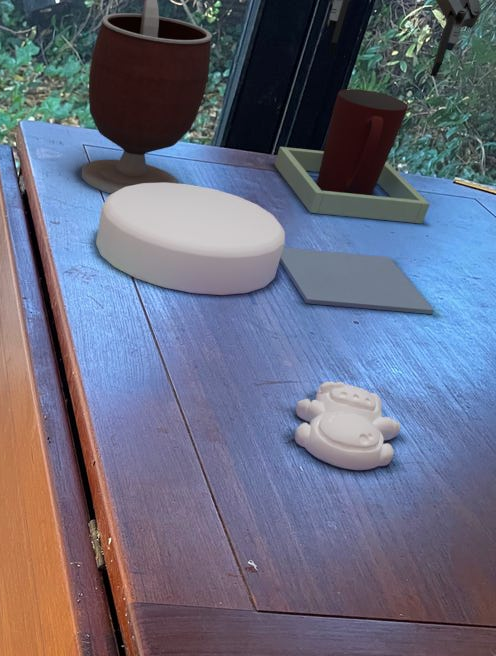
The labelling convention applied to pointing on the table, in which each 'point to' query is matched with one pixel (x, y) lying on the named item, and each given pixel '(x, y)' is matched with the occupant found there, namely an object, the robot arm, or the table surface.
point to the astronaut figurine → (346, 427)
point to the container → (190, 238)
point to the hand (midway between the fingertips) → (383, 59)
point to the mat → (352, 281)
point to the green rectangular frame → (397, 208)
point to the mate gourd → (144, 91)
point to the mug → (359, 140)
